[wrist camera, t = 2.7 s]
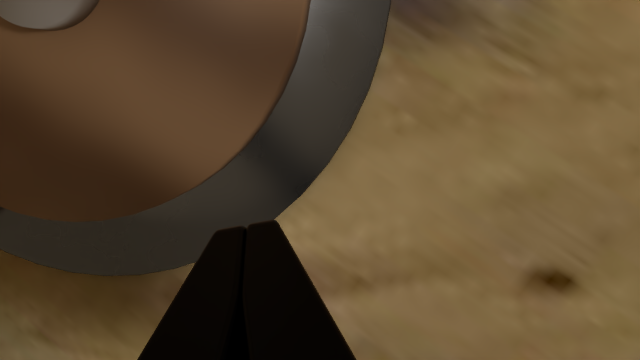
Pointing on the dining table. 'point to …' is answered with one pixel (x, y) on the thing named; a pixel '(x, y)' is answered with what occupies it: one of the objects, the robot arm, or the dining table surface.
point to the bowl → (243, 171)
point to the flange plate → (134, 97)
